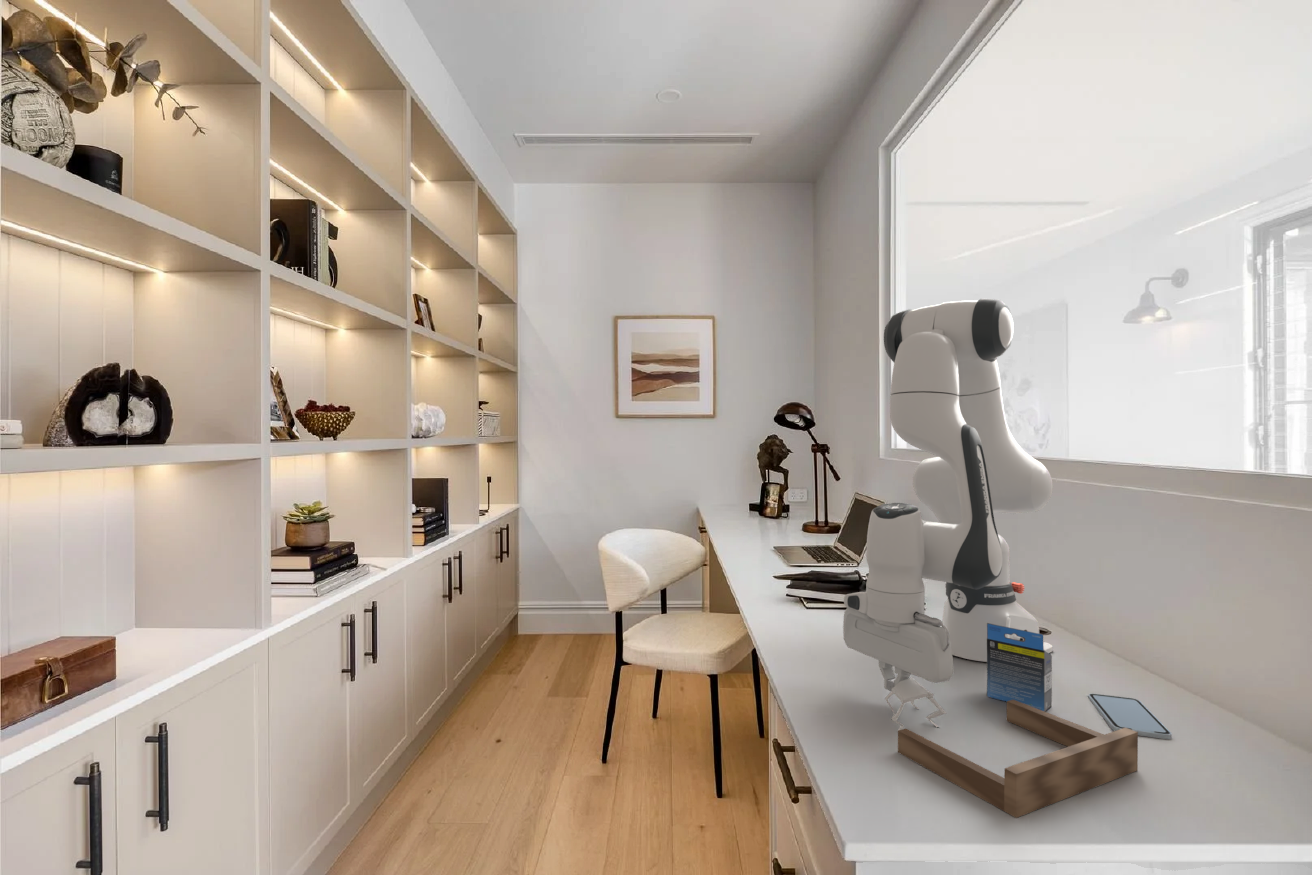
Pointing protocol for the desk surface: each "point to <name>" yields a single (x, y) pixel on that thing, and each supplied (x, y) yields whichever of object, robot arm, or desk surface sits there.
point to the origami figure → (912, 698)
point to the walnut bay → (1034, 762)
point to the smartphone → (1129, 715)
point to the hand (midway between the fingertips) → (894, 691)
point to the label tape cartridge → (1018, 667)
